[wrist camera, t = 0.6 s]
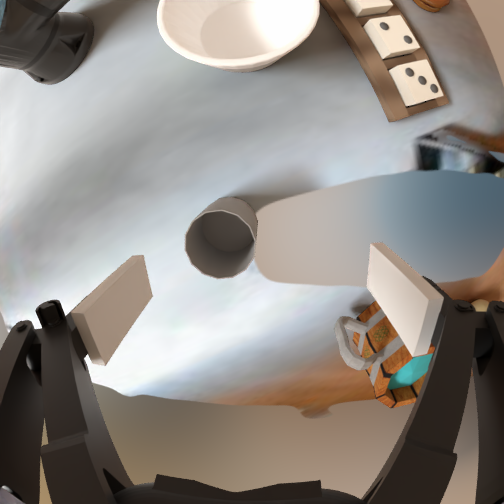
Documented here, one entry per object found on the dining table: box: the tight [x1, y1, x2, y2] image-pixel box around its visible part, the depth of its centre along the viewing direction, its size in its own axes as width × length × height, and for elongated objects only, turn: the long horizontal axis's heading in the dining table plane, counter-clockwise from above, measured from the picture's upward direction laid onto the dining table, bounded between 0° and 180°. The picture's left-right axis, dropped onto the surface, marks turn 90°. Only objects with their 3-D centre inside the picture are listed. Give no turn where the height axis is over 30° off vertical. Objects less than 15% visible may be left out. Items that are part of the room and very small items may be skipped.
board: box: [319, 0, 449, 122], centre depth 29 cm, size 25×12×2 cm, turn 26°
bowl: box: [157, 0, 320, 73], centre depth 26 cm, size 19×19×11 cm
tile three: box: [388, 59, 444, 107], centre depth 29 cm, size 6×6×4 cm
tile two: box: [363, 15, 420, 60], centre depth 26 cm, size 6×6×4 cm
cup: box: [185, 197, 258, 279], centre depth 36 cm, size 8×8×10 cm
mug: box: [334, 301, 435, 408], centre depth 39 cm, size 20×14×15 cm
